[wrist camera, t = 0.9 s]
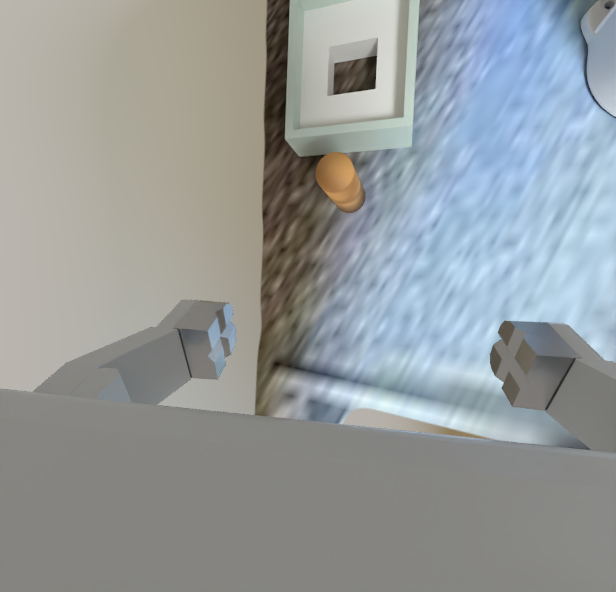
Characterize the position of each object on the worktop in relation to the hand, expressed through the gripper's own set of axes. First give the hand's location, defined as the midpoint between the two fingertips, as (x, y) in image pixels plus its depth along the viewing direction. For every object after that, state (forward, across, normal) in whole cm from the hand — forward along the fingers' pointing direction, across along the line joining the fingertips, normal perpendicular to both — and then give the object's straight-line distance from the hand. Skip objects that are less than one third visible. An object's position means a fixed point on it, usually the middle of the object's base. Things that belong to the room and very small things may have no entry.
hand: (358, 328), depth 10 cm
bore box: (+42, 0, -10) cm, 43 cm away
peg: (+35, 0, +4) cm, 35 cm away
